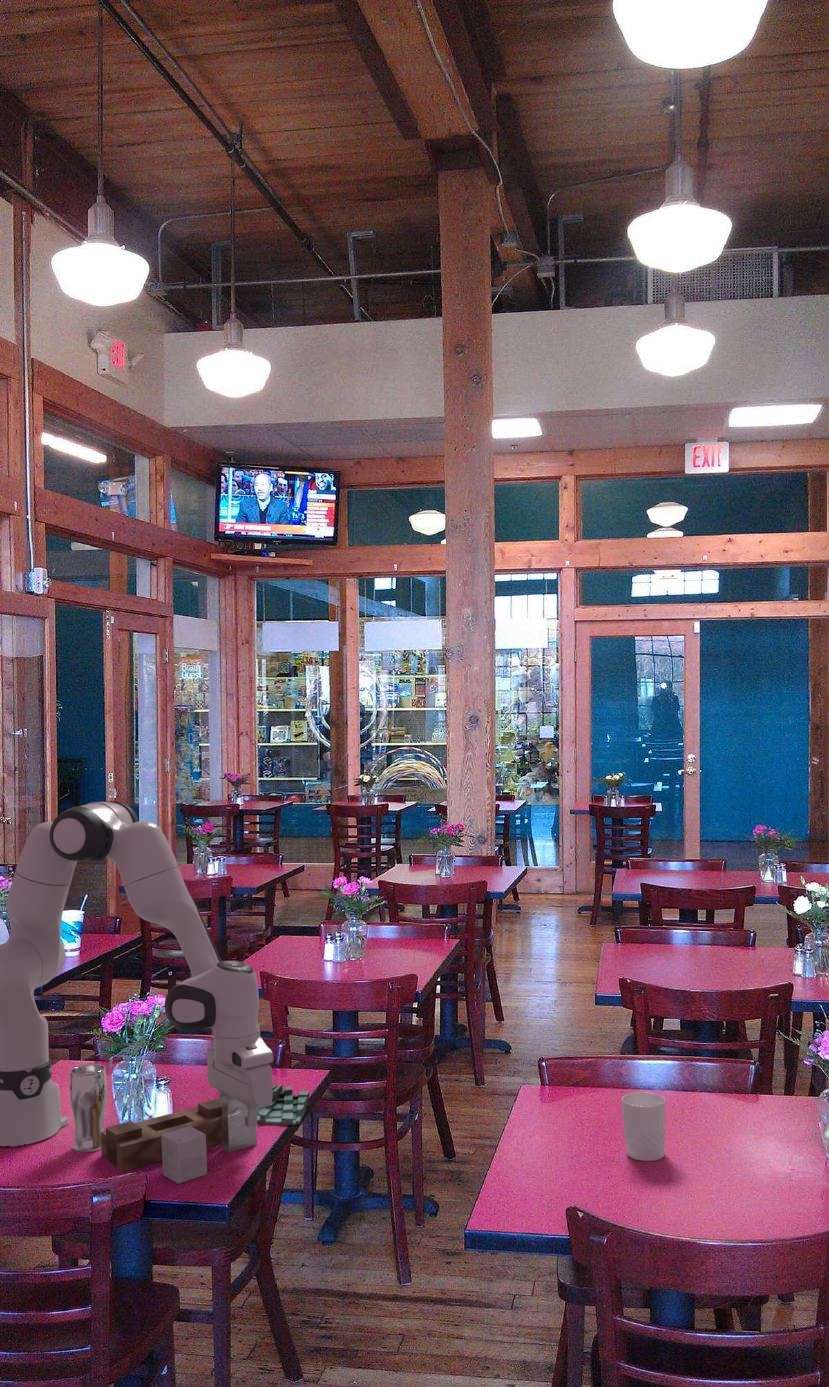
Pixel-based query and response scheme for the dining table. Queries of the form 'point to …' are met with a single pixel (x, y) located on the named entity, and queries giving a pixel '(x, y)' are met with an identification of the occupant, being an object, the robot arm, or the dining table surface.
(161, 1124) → the wooden display stand
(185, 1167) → the product box
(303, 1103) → the money
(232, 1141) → the bracket
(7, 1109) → the robot arm
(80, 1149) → the beer glass
